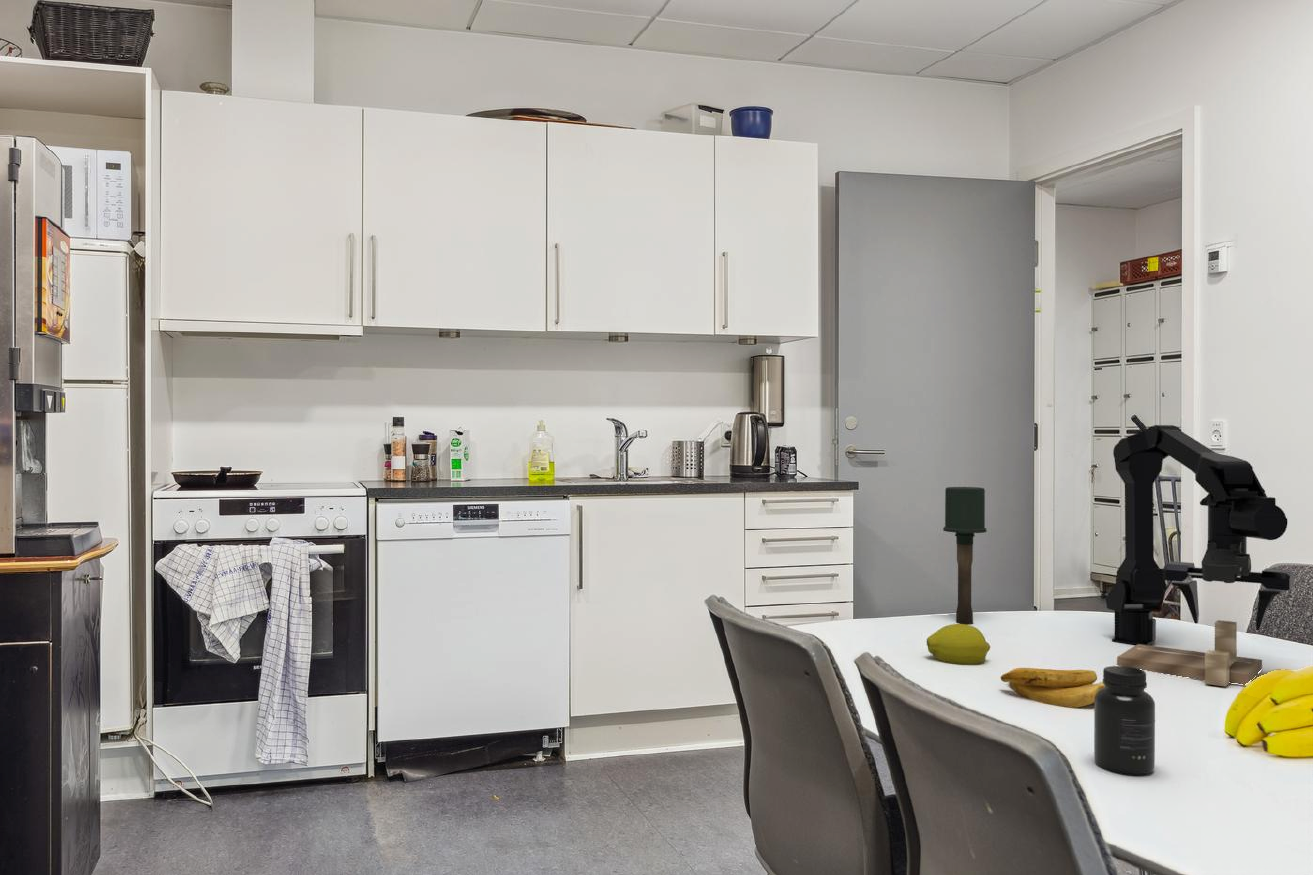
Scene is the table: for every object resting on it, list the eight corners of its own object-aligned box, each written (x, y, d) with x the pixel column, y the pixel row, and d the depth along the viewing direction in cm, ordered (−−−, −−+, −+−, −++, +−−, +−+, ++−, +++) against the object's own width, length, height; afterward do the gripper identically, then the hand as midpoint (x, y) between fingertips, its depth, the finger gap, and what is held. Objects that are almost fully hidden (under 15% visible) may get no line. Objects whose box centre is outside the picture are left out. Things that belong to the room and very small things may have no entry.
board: (1117, 668, 176) (1117, 656, 176) (1137, 654, 187) (1138, 643, 187) (1247, 686, 163) (1247, 673, 163) (1262, 671, 174) (1262, 659, 174)
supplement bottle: (1083, 758, 127) (1083, 664, 127) (1135, 757, 128) (1135, 663, 128) (1112, 777, 120) (1113, 677, 120) (1166, 775, 121) (1167, 676, 121)
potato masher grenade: (986, 630, 210) (987, 487, 210) (985, 638, 202) (986, 489, 201) (944, 627, 212) (944, 486, 212) (941, 635, 204) (942, 488, 204)
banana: (1146, 714, 148) (1146, 676, 148) (1016, 713, 148) (1016, 675, 148) (1101, 688, 163) (1101, 653, 163) (984, 687, 164) (984, 652, 164)
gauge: (1205, 683, 164) (1205, 628, 164) (1221, 668, 175) (1221, 617, 174) (1225, 686, 162) (1225, 631, 162) (1240, 671, 173) (1241, 619, 173)
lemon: (987, 666, 178) (987, 621, 178) (994, 676, 170) (994, 629, 170) (924, 663, 179) (924, 619, 179) (928, 674, 172) (928, 627, 172)
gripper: (1155, 534, 169) (1154, 626, 169) (1284, 541, 157) (1284, 641, 157) (1170, 529, 178) (1170, 617, 178) (1294, 536, 166) (1294, 630, 166)
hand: (1226, 626), depth 170 cm, fingers open, 9 cm apart
